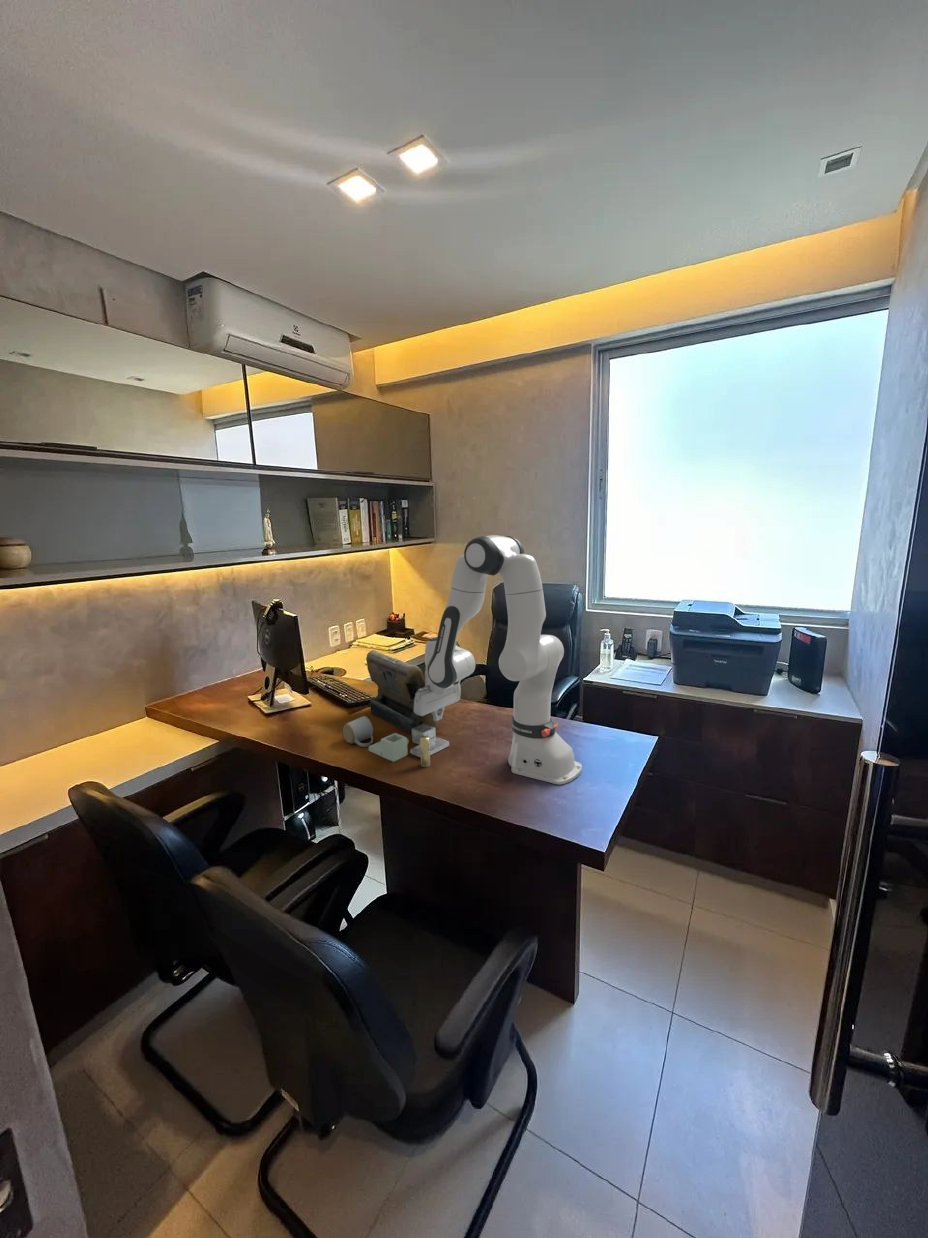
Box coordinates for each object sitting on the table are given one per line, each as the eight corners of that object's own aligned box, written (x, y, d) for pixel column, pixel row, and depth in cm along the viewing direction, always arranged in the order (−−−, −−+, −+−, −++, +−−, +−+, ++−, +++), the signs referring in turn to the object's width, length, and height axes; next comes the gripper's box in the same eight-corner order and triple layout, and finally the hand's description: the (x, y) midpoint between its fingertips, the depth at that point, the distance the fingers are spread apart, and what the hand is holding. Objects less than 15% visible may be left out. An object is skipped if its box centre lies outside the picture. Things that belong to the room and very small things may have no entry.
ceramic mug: (341, 740, 167) (340, 720, 166) (362, 733, 173) (361, 713, 171) (358, 751, 160) (357, 729, 158) (379, 743, 165) (378, 722, 164)
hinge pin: (432, 764, 150) (431, 737, 148) (425, 768, 148) (424, 740, 146) (425, 761, 152) (424, 734, 150) (419, 765, 149) (418, 737, 148)
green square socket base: (421, 748, 161) (420, 731, 160) (393, 762, 152) (392, 744, 151) (396, 738, 168) (395, 722, 167) (368, 750, 160) (367, 733, 158)
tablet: (444, 726, 178) (442, 660, 174) (415, 738, 169) (412, 668, 164) (390, 704, 201) (387, 645, 196) (361, 713, 191) (358, 652, 187)
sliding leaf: (449, 745, 162) (448, 732, 161) (423, 759, 153) (422, 744, 152) (424, 736, 169) (423, 723, 169) (398, 748, 161) (397, 734, 160)
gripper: (422, 692, 159) (422, 732, 161) (463, 677, 174) (463, 713, 177) (409, 687, 163) (409, 726, 165) (450, 673, 178) (450, 709, 181)
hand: (437, 719), depth 171 cm, fingers closed
